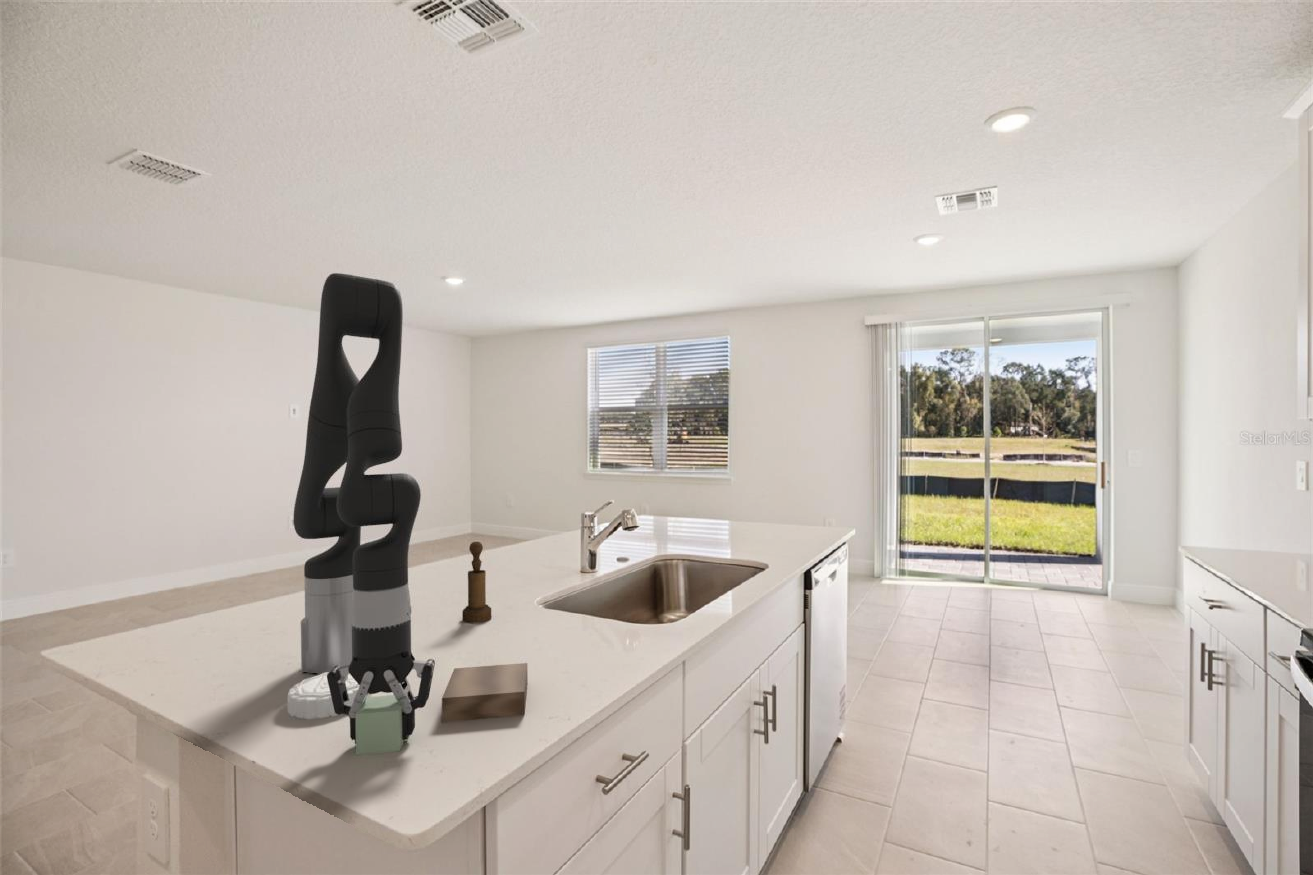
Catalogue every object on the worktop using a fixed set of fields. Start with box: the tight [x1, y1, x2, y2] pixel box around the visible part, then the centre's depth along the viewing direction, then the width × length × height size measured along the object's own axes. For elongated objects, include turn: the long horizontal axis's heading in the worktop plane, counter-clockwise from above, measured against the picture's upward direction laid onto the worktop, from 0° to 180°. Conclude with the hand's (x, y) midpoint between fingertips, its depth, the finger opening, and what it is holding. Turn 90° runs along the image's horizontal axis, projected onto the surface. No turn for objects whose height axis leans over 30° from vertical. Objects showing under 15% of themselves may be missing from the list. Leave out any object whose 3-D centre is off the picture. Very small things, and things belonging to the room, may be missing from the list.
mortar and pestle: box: [461, 541, 493, 624], centre depth 144 cm, size 7×6×18 cm
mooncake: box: [287, 672, 373, 720], centre depth 100 cm, size 12×12×4 cm
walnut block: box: [441, 662, 529, 723], centre depth 99 cm, size 12×12×4 cm
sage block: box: [355, 694, 406, 756], centre depth 86 cm, size 6×6×6 cm
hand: (383, 738), depth 86 cm, fingers closed on sage block, 5 cm apart
